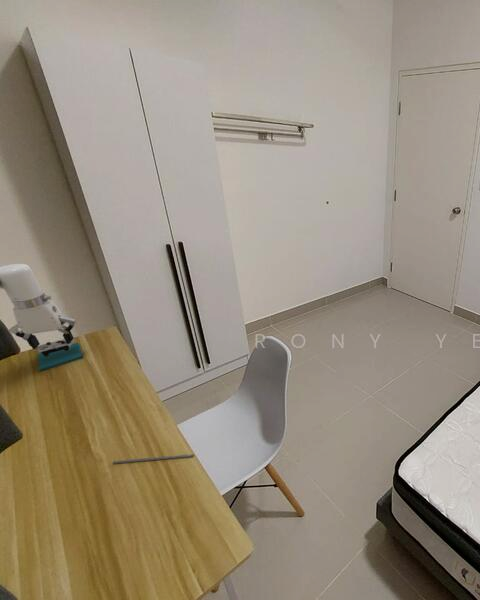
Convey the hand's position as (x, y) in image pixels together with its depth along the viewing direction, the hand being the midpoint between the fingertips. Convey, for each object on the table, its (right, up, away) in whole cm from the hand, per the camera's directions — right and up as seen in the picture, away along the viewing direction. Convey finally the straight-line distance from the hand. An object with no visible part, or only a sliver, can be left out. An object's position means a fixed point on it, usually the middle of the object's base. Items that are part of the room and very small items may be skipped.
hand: (53, 344), depth 115 cm
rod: (+58, -27, -30) cm, 71 cm away
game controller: (0, -2, +1) cm, 3 cm away
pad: (0, -5, +3) cm, 6 cm away
